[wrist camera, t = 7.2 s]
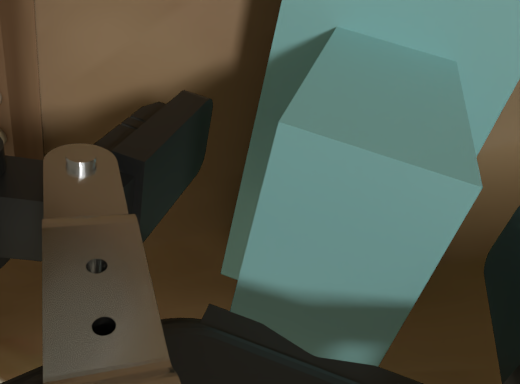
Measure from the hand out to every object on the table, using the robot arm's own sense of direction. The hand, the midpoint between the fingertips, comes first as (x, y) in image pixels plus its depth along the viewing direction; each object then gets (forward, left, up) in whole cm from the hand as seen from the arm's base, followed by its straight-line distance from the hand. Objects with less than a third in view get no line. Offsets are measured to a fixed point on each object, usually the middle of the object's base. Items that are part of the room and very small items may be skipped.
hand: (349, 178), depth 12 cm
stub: (0, 0, -3) cm, 3 cm away
